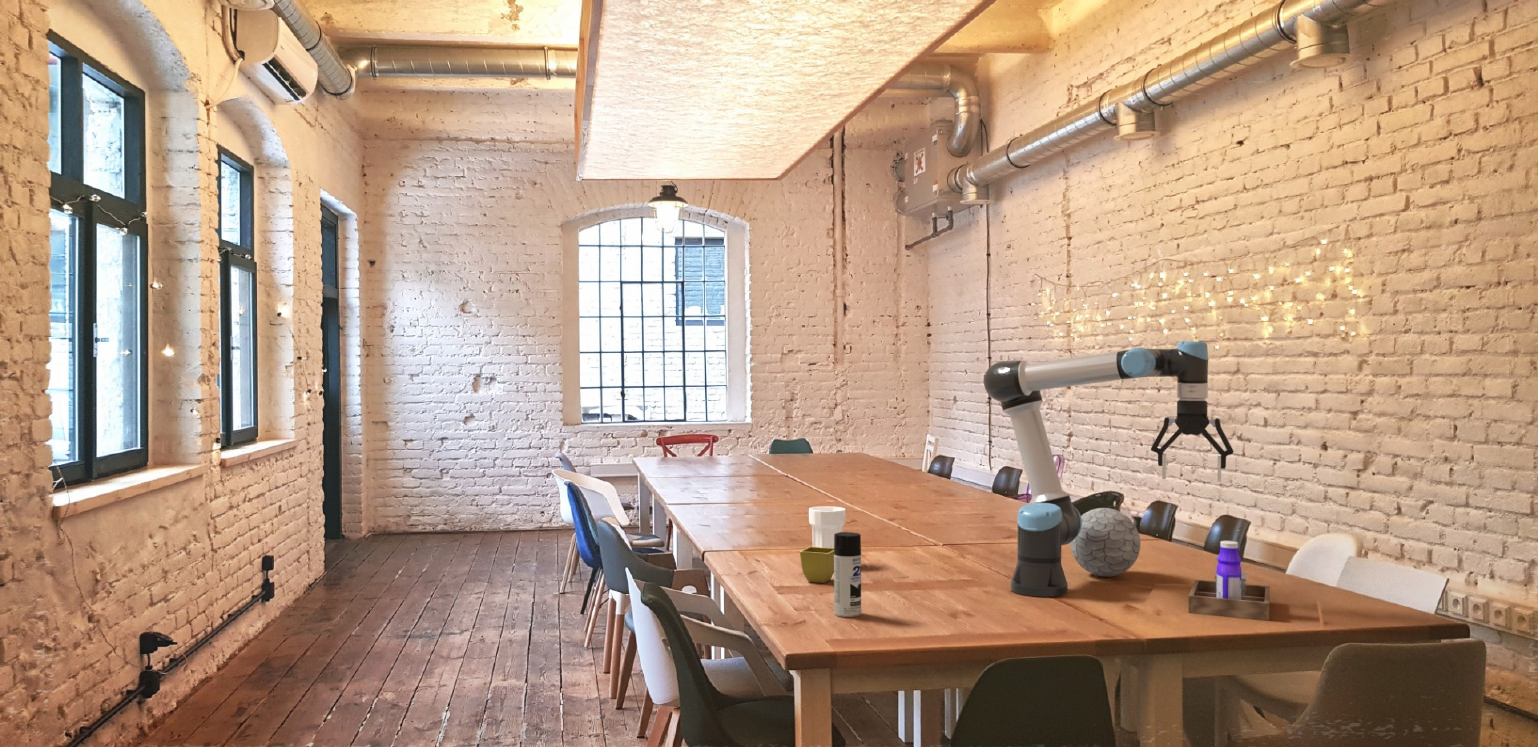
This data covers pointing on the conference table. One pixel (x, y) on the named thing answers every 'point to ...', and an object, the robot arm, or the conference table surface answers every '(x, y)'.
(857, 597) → the spray can
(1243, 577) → the block
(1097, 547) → the decorative sphere
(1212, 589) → the crate
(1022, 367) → the robot arm
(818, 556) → the flower pot
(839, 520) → the cup
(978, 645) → the conference table surface
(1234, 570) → the bottle
